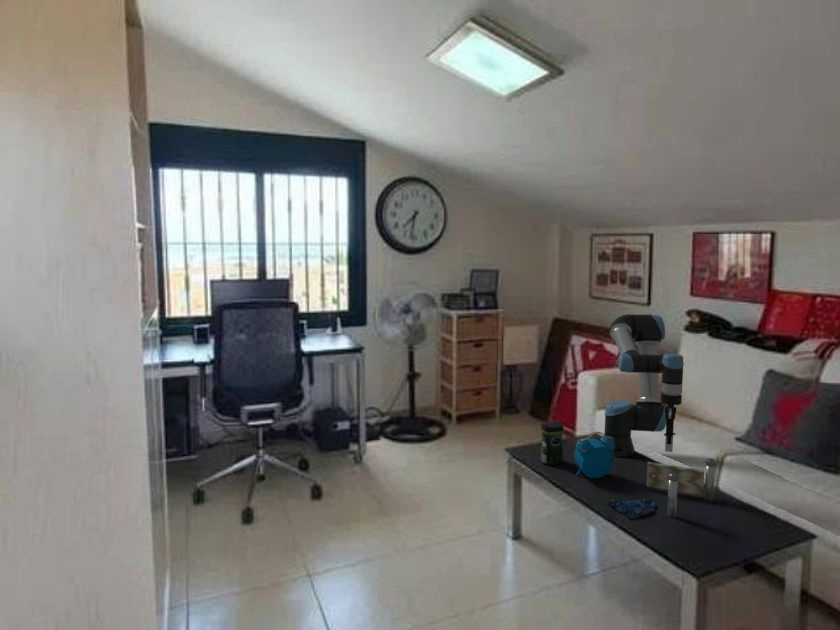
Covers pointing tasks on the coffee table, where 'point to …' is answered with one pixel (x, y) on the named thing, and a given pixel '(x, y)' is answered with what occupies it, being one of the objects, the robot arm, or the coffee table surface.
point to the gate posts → (674, 486)
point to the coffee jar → (551, 442)
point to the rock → (632, 506)
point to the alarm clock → (594, 456)
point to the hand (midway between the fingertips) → (668, 451)
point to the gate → (688, 477)
